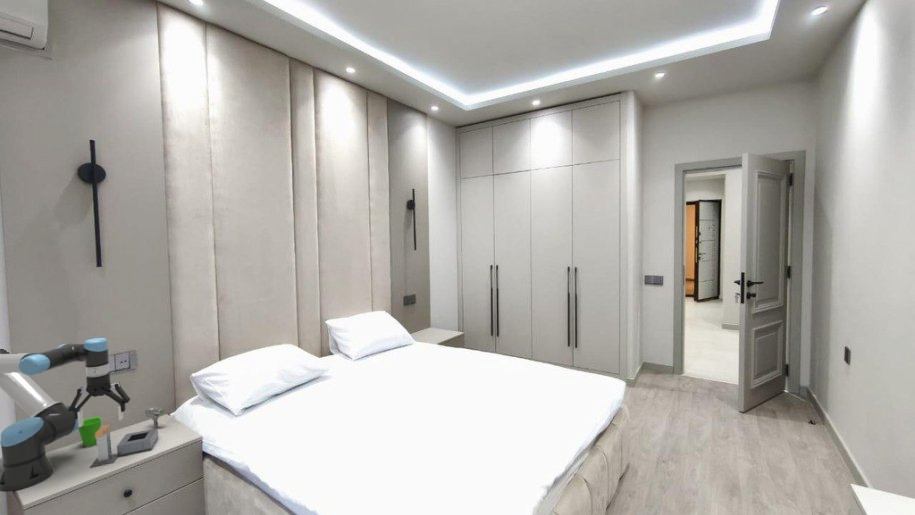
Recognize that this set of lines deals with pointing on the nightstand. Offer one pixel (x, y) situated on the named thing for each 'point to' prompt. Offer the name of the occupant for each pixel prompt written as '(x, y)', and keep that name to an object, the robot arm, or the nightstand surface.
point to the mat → (112, 460)
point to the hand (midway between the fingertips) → (101, 422)
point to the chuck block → (137, 442)
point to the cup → (90, 430)
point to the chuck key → (103, 443)
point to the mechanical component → (154, 414)
